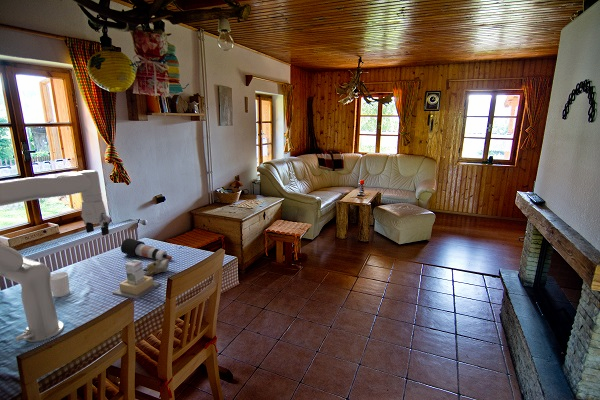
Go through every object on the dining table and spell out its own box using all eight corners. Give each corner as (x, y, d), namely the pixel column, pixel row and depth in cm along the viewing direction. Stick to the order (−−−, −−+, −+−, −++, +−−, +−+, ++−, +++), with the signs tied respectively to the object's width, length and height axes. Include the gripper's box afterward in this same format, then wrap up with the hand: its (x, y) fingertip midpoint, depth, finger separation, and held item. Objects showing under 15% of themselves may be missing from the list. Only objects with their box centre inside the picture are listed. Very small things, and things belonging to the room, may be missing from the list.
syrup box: (145, 285, 169) (142, 260, 166) (137, 291, 164) (133, 265, 160) (137, 284, 171) (133, 258, 167) (128, 289, 166) (124, 263, 162)
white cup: (49, 298, 159) (45, 280, 156) (56, 290, 166) (52, 273, 163) (67, 296, 161) (64, 278, 158) (73, 288, 168) (70, 271, 166)
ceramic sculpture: (169, 259, 182) (140, 267, 175) (171, 273, 184) (143, 281, 177) (166, 253, 191) (138, 260, 184) (168, 266, 193) (141, 273, 186)
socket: (136, 300, 158) (135, 291, 157) (112, 293, 163) (111, 285, 162) (161, 284, 173) (160, 276, 171) (137, 279, 178) (136, 271, 177)
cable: (168, 269, 200) (163, 259, 193) (124, 256, 208) (118, 246, 202) (178, 256, 207) (173, 246, 200) (135, 245, 215) (129, 235, 209)
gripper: (70, 197, 146) (77, 233, 150) (98, 201, 140) (104, 238, 144) (86, 194, 152) (92, 228, 157) (113, 197, 147) (118, 233, 151)
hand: (97, 233), depth 150 cm, fingers open, 9 cm apart
